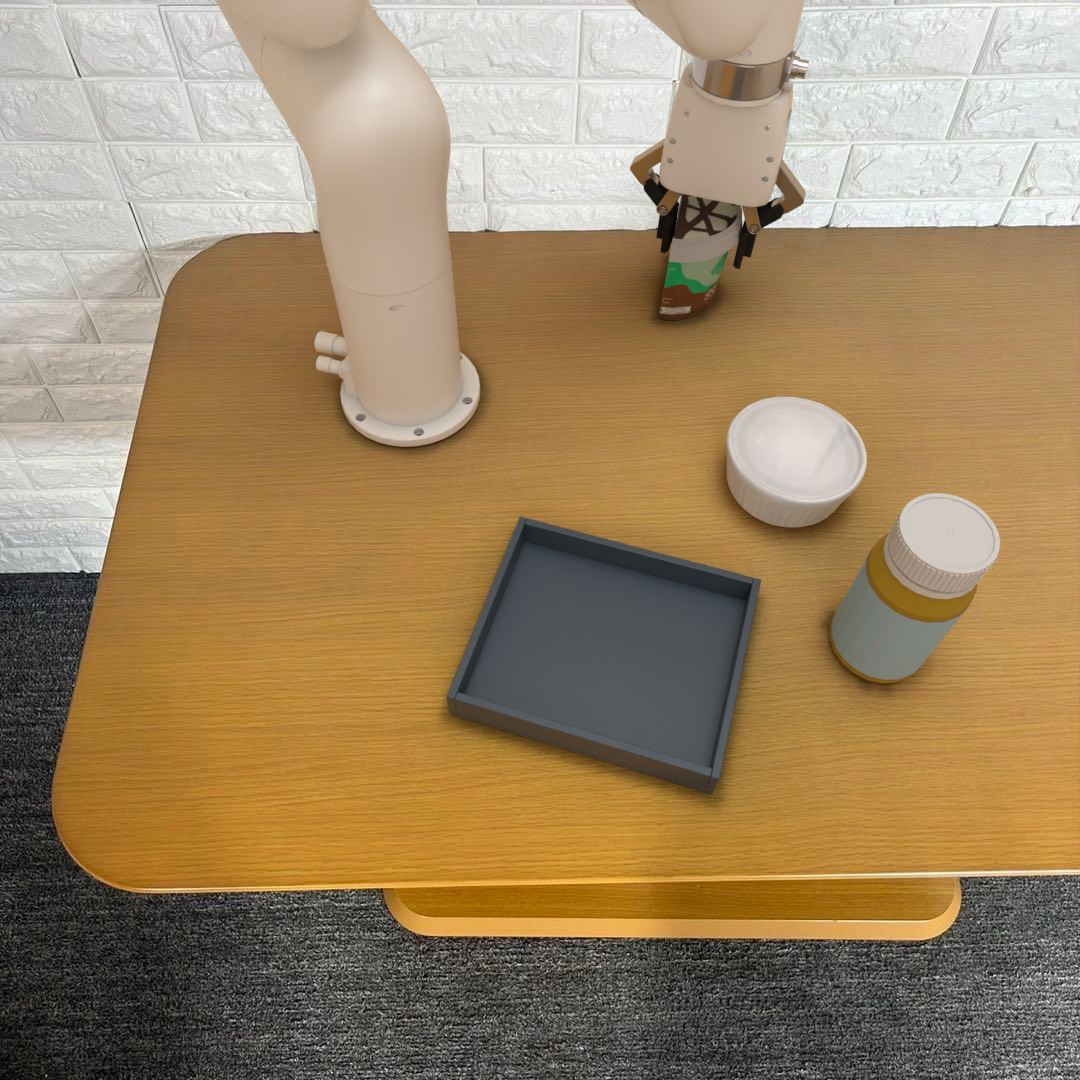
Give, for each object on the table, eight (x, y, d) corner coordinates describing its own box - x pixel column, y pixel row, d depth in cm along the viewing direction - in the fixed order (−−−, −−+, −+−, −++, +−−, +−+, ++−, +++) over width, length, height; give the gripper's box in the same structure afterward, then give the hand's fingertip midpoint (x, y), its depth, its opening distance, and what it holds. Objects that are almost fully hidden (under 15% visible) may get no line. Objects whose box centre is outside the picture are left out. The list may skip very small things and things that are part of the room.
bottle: (902, 703, 65) (989, 598, 53) (812, 657, 67) (875, 546, 55) (933, 632, 69) (1021, 517, 56) (846, 590, 71) (913, 471, 58)
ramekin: (860, 541, 73) (880, 503, 69) (723, 539, 73) (735, 501, 69) (836, 437, 80) (854, 396, 75) (710, 435, 80) (720, 394, 75)
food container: (719, 339, 86) (741, 253, 78) (656, 329, 87) (671, 242, 79) (730, 258, 93) (751, 171, 85) (671, 249, 94) (687, 162, 86)
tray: (449, 714, 65) (446, 696, 62) (520, 538, 73) (519, 515, 71) (711, 794, 62) (719, 779, 59) (753, 600, 70) (761, 579, 68)
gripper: (855, 60, 72) (798, 247, 87) (645, 24, 75) (625, 211, 90) (844, 109, 68) (786, 296, 83) (622, 69, 71) (605, 257, 85)
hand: (702, 250), depth 86 cm, fingers closed on food container, 6 cm apart
